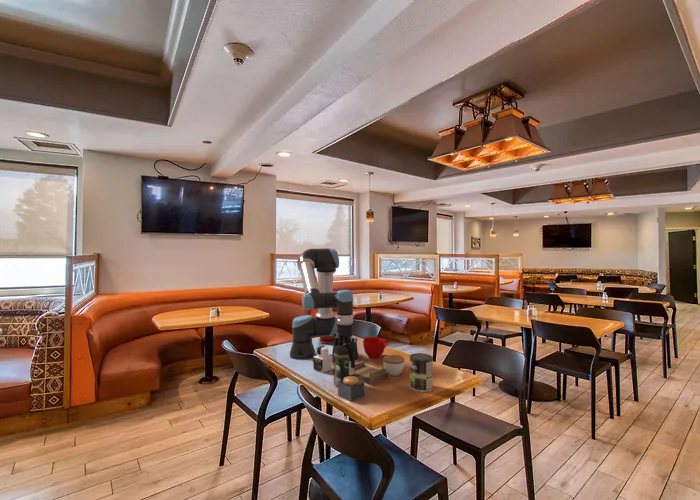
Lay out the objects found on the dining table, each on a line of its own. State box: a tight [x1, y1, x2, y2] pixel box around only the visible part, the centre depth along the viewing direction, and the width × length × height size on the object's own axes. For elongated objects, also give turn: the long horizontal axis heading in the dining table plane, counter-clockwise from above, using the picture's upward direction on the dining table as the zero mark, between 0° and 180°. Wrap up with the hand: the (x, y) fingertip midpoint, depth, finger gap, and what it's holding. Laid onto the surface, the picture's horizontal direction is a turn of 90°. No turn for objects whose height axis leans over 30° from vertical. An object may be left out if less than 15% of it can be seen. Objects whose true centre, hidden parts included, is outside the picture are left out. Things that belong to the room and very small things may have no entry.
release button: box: [343, 376, 359, 386], centre depth 144 cm, size 6×6×7 cm
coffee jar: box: [333, 344, 355, 387], centre depth 157 cm, size 10×8×19 cm
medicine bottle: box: [312, 345, 333, 374], centre depth 177 cm, size 7×7×12 cm
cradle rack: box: [354, 361, 390, 387], centre depth 166 cm, size 18×12×5 cm, turn 44°
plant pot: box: [319, 330, 338, 345], centre depth 232 cm, size 13×13×12 cm
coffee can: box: [409, 352, 434, 393], centre depth 153 cm, size 10×10×14 cm
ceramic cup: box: [362, 336, 389, 360], centre depth 199 cm, size 13×17×10 cm
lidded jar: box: [382, 354, 405, 377], centre depth 171 cm, size 11×11×9 cm
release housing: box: [337, 380, 365, 402], centre depth 144 cm, size 8×8×6 cm
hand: (345, 372), depth 157 cm, fingers closed on coffee jar, 8 cm apart
